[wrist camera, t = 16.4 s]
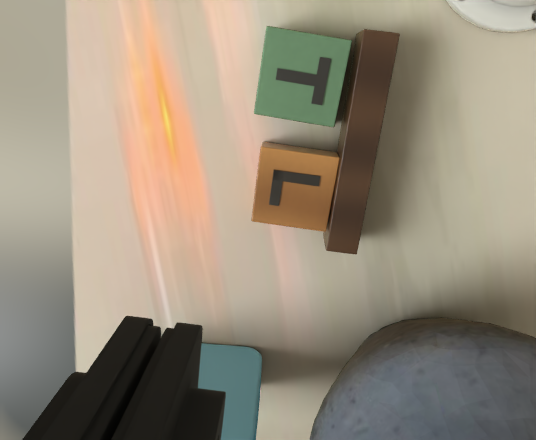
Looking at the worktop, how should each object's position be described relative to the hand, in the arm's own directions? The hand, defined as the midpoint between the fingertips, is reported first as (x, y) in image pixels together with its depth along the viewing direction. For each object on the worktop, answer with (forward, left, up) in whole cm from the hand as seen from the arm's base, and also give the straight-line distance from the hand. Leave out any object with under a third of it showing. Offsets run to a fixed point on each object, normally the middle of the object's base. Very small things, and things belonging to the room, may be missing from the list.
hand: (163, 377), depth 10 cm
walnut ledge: (-6, +5, -27) cm, 28 cm away
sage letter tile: (-7, -2, -27) cm, 28 cm away
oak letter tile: (-1, +4, -27) cm, 27 cm away
